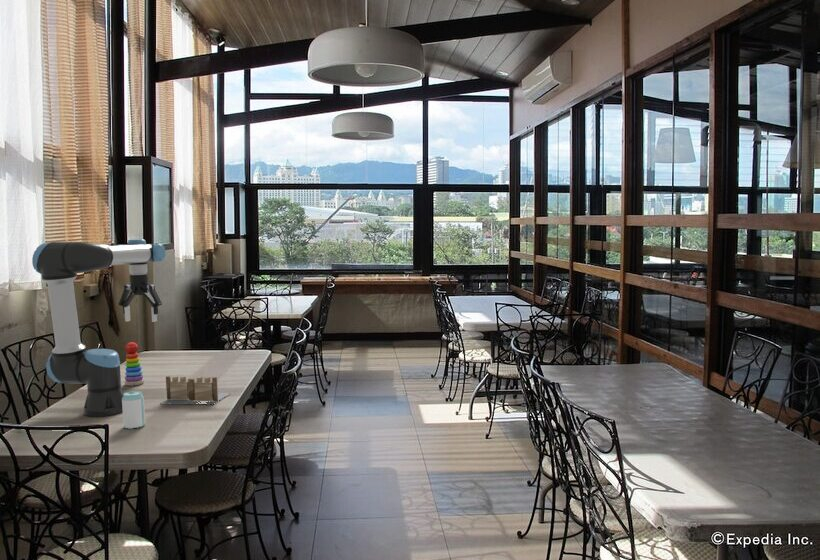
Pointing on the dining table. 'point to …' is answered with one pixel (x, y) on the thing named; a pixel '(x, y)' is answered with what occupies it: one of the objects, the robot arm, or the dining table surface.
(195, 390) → the fixed fence section
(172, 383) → the hinged fence panel
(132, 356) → the stacking toy
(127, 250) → the robot arm
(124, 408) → the can
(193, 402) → the card
